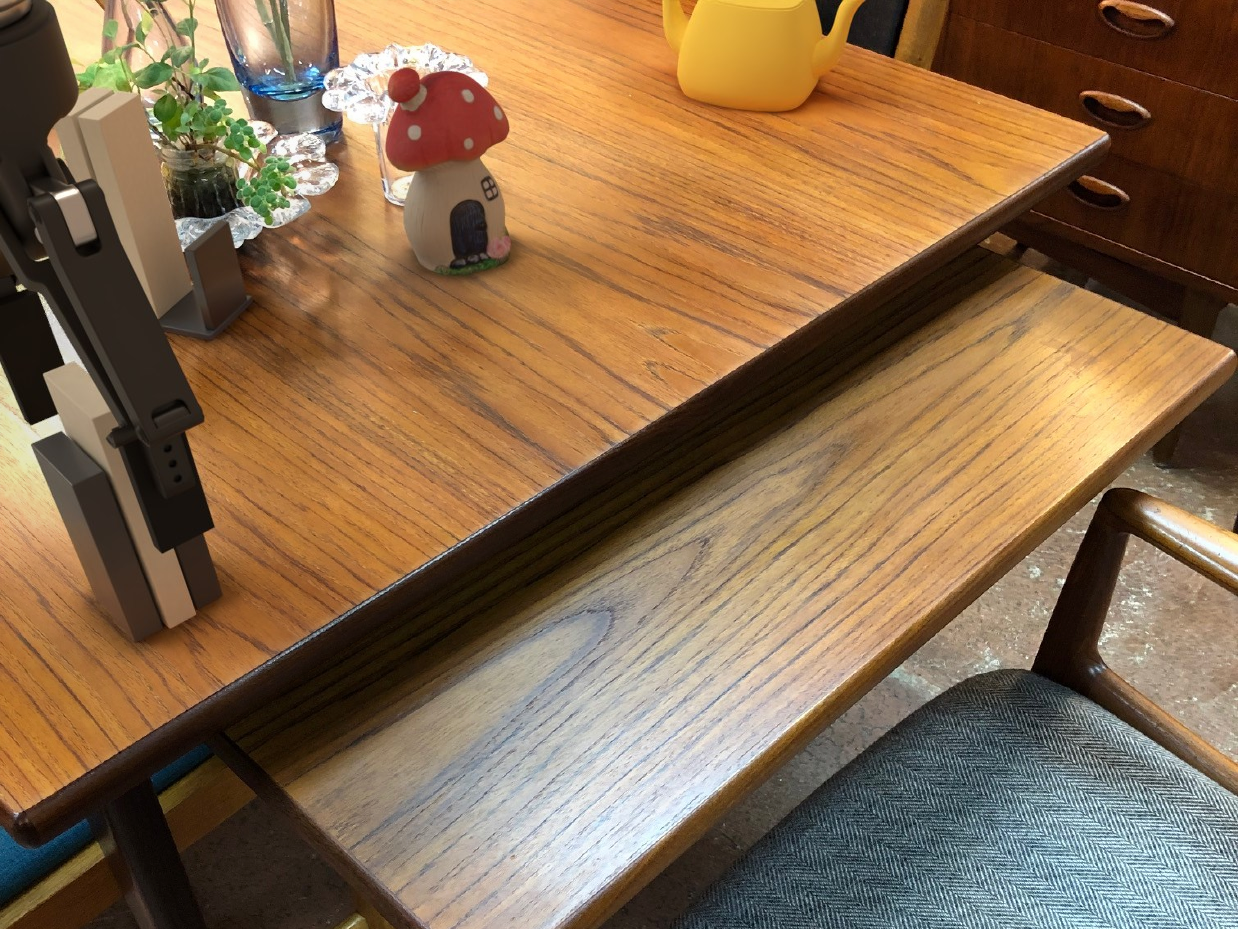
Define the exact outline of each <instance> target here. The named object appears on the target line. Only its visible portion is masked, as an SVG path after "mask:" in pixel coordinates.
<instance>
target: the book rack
mask: <svg viewBox="0 0 1238 929" xmlns="http://www.w3.org/2000/svg"><path fill="white" fill-rule="evenodd" d="M183 253H184V257H185V260H186V264H187V268H188V271H189V275H190V279H191V282H192V287H193V290H191V291H190V292H189V293H188V294H187V295H186V296H185V297H183V298H182V299H181V300H180V301H179V302H178V303H177V304H175V305H174V306H173V307H172V308H171V309H170V310H169V311H167V312H166V313H165V314H164V315H163V316H162V317H161V318H159V319H158V320H159V323H160V325H161V327H162V329H163V331H164V333H168V334H169V333H170V334H174V335H178V336H179V335H180V336H183V337H188V338H194V339H199V340H202V341H203V340H204V341H208V342H213V340H215V339H216V338H217V337H218V336H219V335H220V334H221V333H222V332H223V331H224V330H225V329H226V328H228V326H229V325H231V324H232V323H233V322H234V321H235V320H236V319H237V318H238V317H239V316H240V315H241V314H243V312H244V311H245V310H247V309H248V308H249V307H250V306H251V305H252V304H253V303H254V299H253V296H252V295H247V292H246V288H245V283H244V279H243V275H242V271H241V270H242V269H241V267H240V262H239V258H238V253H237V250H236V246H235V242H234V237H233V232H232V228H231V225H230V222H229V221H227V220H223V219H222V220H221V219H219V220H217V221H216V222H215V223H214V224H213V225H211V226H210V227H209V228H208V229H206V230H204V232H203V233H202V234H200V235H199V236H198V237H196V238H195V239H194V240H193V241H192V242H190V244H189V245H187V246H186V247H185V248H183Z"/></svg>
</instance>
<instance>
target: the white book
mask: <svg viewBox="0 0 1238 929" xmlns="http://www.w3.org/2000/svg"><path fill="white" fill-rule="evenodd" d="M43 376H44V379H45V381H46V384H47V386H48V389H49V391H50V394H51V396H52V399H53V401H54V404H55V407H56V409H57V412H58V417H59V419H60V422H61V424H62V427H63V429H64V432H65V435H66V436H67V437H68V438H70V439H71V440H72V441H73V442H74V443H75V444H76V445H77V446H78V447H79V448H80V449H81V450H82V451H83V452H84V453H85V454H86V455H87V456H88V457H89V458H90V459H91V460H92V461H93V462H94V463H96V464H97V465H98V466H99V467H100V468H101V469H102V470H103V471H104V473H105V476H106V478H107V481H108V484H109V486H110V489H111V491H112V494H113V497H114V499H115V502H116V505H117V507H118V510H119V513H120V515H121V518H122V521H123V523H124V526H125V529H126V531H127V534H128V536H129V539H130V542H131V544H132V547H133V550H134V552H135V555H136V558H137V560H138V563H139V566H140V568H141V571H142V574H143V576H144V579H145V582H146V584H147V587H148V589H149V592H150V595H151V597H152V600H153V603H154V605H155V608H156V611H157V613H158V616H159V619H160V621H161V622H162V623H163V624H164V625H165V626H166V627H167V628H168V629H173V628H174V627H176V626H179V625H180V624H182V623H184V622H185V621H187V620H189V619H191V618H193V617H195V616H196V615H197V612H196V608H195V607H194V606H193V603H192V600H191V597H190V594H189V591H188V589H187V586H186V583H185V580H184V577H183V574H182V571H181V568H180V565H179V562H178V560H177V557H176V554H175V551H174V548H173V549H171V550H169V551H167V552H165V553H163V554H162V553H161V552H159V551H158V550H157V549H156V548H155V547H154V545H153V542H152V539H151V537H150V534H149V531H148V528H147V526H146V523H145V520H144V517H143V515H142V512H141V509H140V506H139V504H138V501H137V498H136V496H135V493H134V490H133V487H132V485H131V482H130V479H129V476H128V474H127V471H126V468H125V465H124V463H123V460H122V457H121V454H120V452H119V449H118V448H116V449H114V448H113V447H111V445H110V444H109V443H108V441H107V440H106V438H107V436H108V435H109V434H110V432H112V430H111V429H113V428H115V427H118V423H117V421H116V419H115V417H114V416H113V414H112V412H111V411H110V409H109V407H108V406H107V404H106V402H105V400H104V399H103V397H102V395H101V394H100V392H99V390H98V389H97V387H96V385H95V383H94V382H93V380H92V378H91V377H90V375H89V373H88V372H87V370H86V369H84V368H82V366H81V365H79V363H77V362H76V361H71V362H69V363H65V365H63V366H61V367H58V368H56V369H53V370H51V371H48V372H46V373H44V374H43Z"/></svg>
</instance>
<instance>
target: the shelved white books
mask: <svg viewBox="0 0 1238 929" xmlns="http://www.w3.org/2000/svg"><path fill="white" fill-rule="evenodd" d="M53 127H54V129H55V133H56V135H57V138H58V141H59V145H60V147H61V148H60V149H61V150H62V153H63V157H64V160H65V164H66V165H67V167H68V168H69V170H70V172H71V174H72V175H73V177H74V179H75V181H76V182H80V181H83V180H86V179H89V178H92V179H93V180H95V181H96V183H97V184H98V185H99V187H101V189H102V190H103V192H104V194H105V200H106V203H107V205H108V208H109V211H110V214H111V216H112V219H113V222H114V225H115V228H116V230H117V233H118V236H119V239H120V241H121V244H122V246H123V248H124V250H125V252H126V254H127V256H128V258H129V260H130V262H131V264H132V266H133V268H134V271H135V273H136V275H137V277H138V279H139V281H140V283H141V285H142V287H143V289H144V291H145V293H146V296H147V298H148V300H149V302H150V304H151V306H152V308H153V310H154V312H155V314H156V316H157V318H158V319H159V318H161V317H162V316H163V315H164V314H165V313H166V312H167V311H169V310H170V309H171V308H172V307H173V306H174V305H175V304H177V303H178V302H179V301H180V300H181V299H182V298H183V297H185V296H186V295H187V294H188V293H189V292H190V291H191V290H193V287H192V285H193V283H192V279H191V275H190V272H189V268H188V264H187V261H186V257H185V253H184V250H183V247H182V244H181V239H180V236H179V232H178V230H177V226H176V222H175V219H174V218H175V217H174V214H173V210H172V207H171V204H170V200H169V196H168V193H167V188H166V185H165V182H164V177H163V173H162V171H161V167H160V164H159V160H158V159H159V158H158V156H157V151H156V149H155V145H154V141H153V138H152V134H151V129H150V126H149V123H148V119H147V115H146V111H145V109H144V105H143V101H142V97H141V94H140V93H137V92H131V91H130V92H129V91H124V90H118V91H116V92H115V90H114V89H111V88H105V87H98V86H91V87H89V88H87V89H86V90H84V91H82V92H81V93H79V95H78V99H77V102H76V104H75V106H74V108H73V109H72V110H71V111H70V113H69V114H68V115H67V116H66V117H64V118H61V119H60V120H59V121H58V122H57V123H56V124H55V125H54V126H53Z"/></svg>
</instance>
